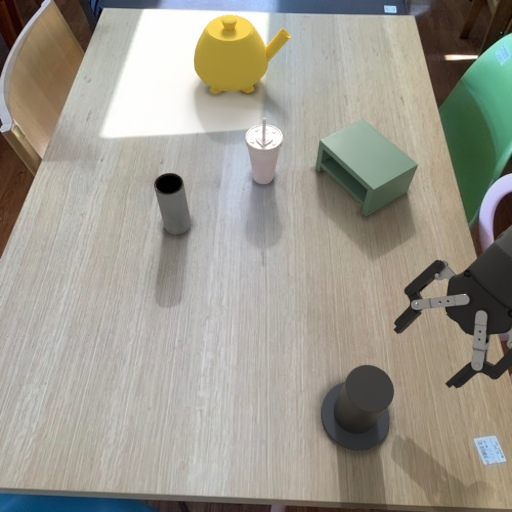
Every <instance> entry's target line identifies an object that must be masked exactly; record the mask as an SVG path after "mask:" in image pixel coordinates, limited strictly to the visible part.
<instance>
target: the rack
mask: <svg viewBox="0 0 512 512" xmlns="http://www.w3.org/2000/svg"><path fill="white" fill-rule="evenodd" d="M316 154H317V156H316V161H315V169H316V171H318V172H319V173H320V172H322V171H325V173H327V174H328V175H329V176H330V178H332V179H333V181H335V182H336V183H338V185H339V186H341V188H342V189H343V190H344V191H346V192H347V194H349V196H351V197H352V198H353V199H354V200H355V201H356V202H357V203H358V204H359V205H360V206H361V207H362V208H361V211H360V213H361V214H362V215H363V216H364V217H368V216H369V215H371V214H372V213H374V212H376V211H378V210H379V209H381V208H383V207H384V206H386V205H388V204H390V203H392V202H393V201H395V200H396V199H398V198H400V197H402V196H403V195H405V194H406V193H408V191H409V189H410V186H411V183H412V181H413V179H414V176H415V173H416V171H417V169H418V166H419V164H418V163H417V162H416V161H415V160H414V159H412V158H411V157H410V155H408V154H406V153H405V152H404V151H403V150H402V149H400V148H399V147H398V146H397V145H396V144H395V143H393V141H391V140H390V139H388V138H387V137H386V136H385V135H383V134H382V133H381V132H380V131H379V130H377V129H376V128H375V127H374V126H372V125H371V123H369V122H368V121H367V120H366V119H364V118H360V119H359V120H356V121H354V122H352V123H350V124H348V125H346V126H344V127H343V128H340V129H338V130H337V131H334V132H332V133H330V134H328V135H326V136H325V137H322V138H320V139H319V142H318V148H317V153H316Z"/></svg>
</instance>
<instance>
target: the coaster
mask: <svg viewBox="0 0 512 512" xmlns="http://www.w3.org/2000/svg"><path fill="white" fill-rule="evenodd" d="M344 383H345V381H342V382H340V383H337V384H336V385H333V386H332V387H331V388H330V389H329V391H328V392H327V393H326V394H325V396H324V397H323V401H322V403H321V408H320V409H321V410H320V414H321V415H320V416H321V422H322V424H323V428H324V429H325V431H326V433H327V434H328V435H329V437H330V438H331V439H332V440H333V441H334V442H335V443H337V444H338V445H339V446H341V447H343V448H346V449H348V450H351V451H365V450H369V449H372V448H374V447H376V446H377V445H379V444H380V443H381V442H382V441H383V440H384V438H386V436H387V433H388V431H389V427H390V412H389V407H387V409H386V410H385V411H384V412H383V414H382V415H381V416H380V417H379V419H378V420H377V421H376V422H375V424H374V425H373V426H372V427H371V428H370V429H369V430H368V431H366V432H364V433H360V434H354V433H350V432H348V431H346V430H344V429H343V428H342V427H341V426H340V425H339V424H338V423H337V421H336V419H335V416H334V404H335V402H336V400H337V397H338V395H339V393H340V391H341V389H342V387H343V385H344Z"/></svg>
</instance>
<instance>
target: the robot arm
mask: <svg viewBox="0 0 512 512" xmlns="http://www.w3.org/2000/svg"><path fill="white" fill-rule="evenodd" d="M445 279H447V280H448V281H447V289H446V294H445V295H446V296H438V297H429V298H423V296H422V294H421V293H422V291H423V290H425V289H426V288H427V287H428V286H429V285H430V284H432V283H433V282H434V281H435V280H436V281H443V280H445ZM403 293H404V295H406V296H407V299H408V300H409V306H408V307H406V309H405V310H403V312H402V313H401V314H399V316H398V317H397V318H396V319H395V320H394V324H393V325H394V326H395V327H394V328H393V331H394V332H395V333H396V334H397V335H399V334H402V333H404V332H405V331H406V329H408V328H409V327H410V326H411V325H412V324H413V323H414V322H415V321H416V320H417V319H418V318H419V317H420V316H421V315H422V314H423V312H422V311H424V310H429V309H437V308H438V309H439V308H444V310H445V313H446V314H445V315H446V316H447V317H448V318H449V319H450V320H452V322H455V323H457V324H458V326H459V328H460V330H461V331H463V332H464V333H465V334H466V335H469V336H473V338H472V339H473V340H472V353H471V361H469V362H468V363H466V364H465V365H464V366H463V367H462V368H461V369H459V370H458V371H457V372H456V373H455V374H453V376H451V377H450V378H449V379H448V380H447V381H446V382H444V385H446V387H447V388H448V389H450V388H452V387H454V388H455V389H460V388H461V387H463V386H464V385H466V384H467V383H468V382H469V381H471V379H472V378H474V377H475V376H476V375H477V374H483V375H485V376H488V378H490V379H491V380H495V381H496V380H498V379H499V378H500V377H501V376H503V375H504V374H505V373H506V372H508V370H509V369H510V368H511V367H512V224H511V225H509V226H508V227H507V229H505V230H503V231H502V232H501V233H500V234H499V235H497V237H496V239H495V240H493V242H492V243H491V244H490V245H489V246H488V247H487V248H486V249H485V250H484V251H483V252H482V253H481V254H480V255H479V256H478V257H477V258H476V259H475V260H474V261H473V262H472V263H470V265H469V266H468V267H467V268H465V270H463V271H461V272H460V273H456V272H455V271H454V270H453V269H452V268H451V267H450V266H449V263H448V262H447V261H446V260H443V259H436V260H434V261H433V262H431V263H430V265H428V266H427V267H426V268H425V269H424V270H423V271H422V272H421V273H419V274H418V275H417V276H416V277H415V278H414V279H412V281H411V282H409V284H408V285H406V286H405V287H404V289H403ZM502 334H507V335H508V340H507V341H506V346H507V348H508V349H509V350H508V351H507V352H506V353H505V354H504V355H503V356H502V357H501V358H500V359H499V360H498V361H497V362H496V363H495V364H494V363H492V362H490V361H488V354H489V348H490V342H491V336H492V335H502Z"/></svg>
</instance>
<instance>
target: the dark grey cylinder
mask: <svg viewBox="0 0 512 512" xmlns="http://www.w3.org/2000/svg"><path fill="white" fill-rule="evenodd" d="M344 382H345V383H344V385H343V387H342V389H341V391H340V393H339V395H338V397H337V400H336V402H335V404H334V416H335V419H336V421H337V423H338V424H339V425H340V426H341V427H342V428H343V429H344V430H346V431H348V432H350V433H354V434H360V433H364V432H366V431H368V430H369V429H370V428H371V427H372V426H373V425H374V424H375V422H376V421H377V420H378V419H379V417H380V416H381V415H382V414H383V412H384V411H385V410H386V409H387V408H389V407H390V405H391V404H392V402H393V400H394V396H395V387H394V383H393V381H392V379H391V377H390V376H389V375H388V373H387V372H386V371H384V370H383V369H381V368H380V367H378V366H375V365H372V364H361V365H358V366H356V367H354V368H353V369H352V370H351V371H350V372H349V373H348V374H347V377H346V379H345V381H344Z"/></svg>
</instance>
